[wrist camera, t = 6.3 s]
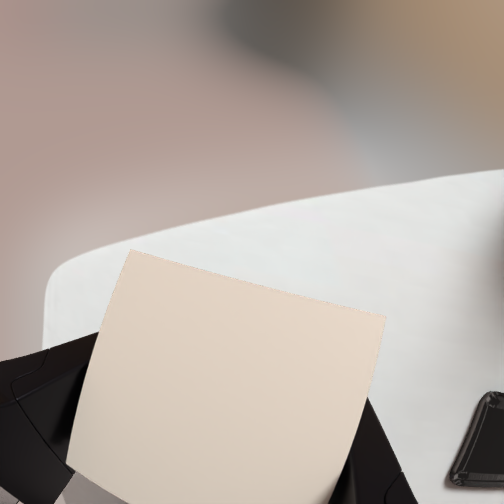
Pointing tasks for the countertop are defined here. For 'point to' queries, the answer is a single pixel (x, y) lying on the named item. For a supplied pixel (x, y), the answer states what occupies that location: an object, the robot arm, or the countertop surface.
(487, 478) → the phone
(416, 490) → the countertop surface
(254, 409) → the tea tin
